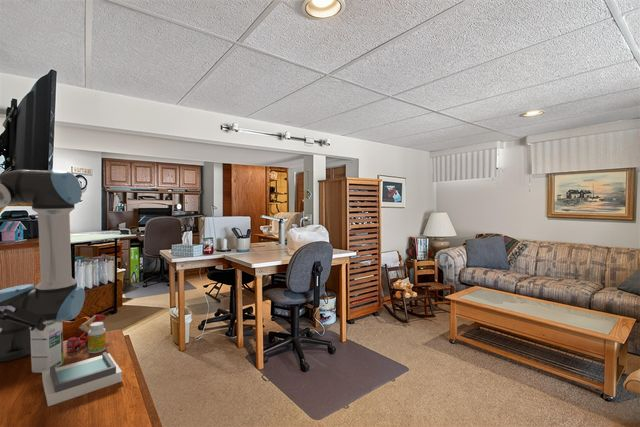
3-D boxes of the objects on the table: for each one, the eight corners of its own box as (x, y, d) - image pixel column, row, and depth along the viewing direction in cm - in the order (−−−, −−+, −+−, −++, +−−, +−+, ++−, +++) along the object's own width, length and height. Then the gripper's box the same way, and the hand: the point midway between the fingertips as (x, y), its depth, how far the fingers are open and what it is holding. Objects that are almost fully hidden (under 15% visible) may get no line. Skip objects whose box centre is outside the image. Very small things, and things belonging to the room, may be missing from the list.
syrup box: (49, 373, 99) (48, 327, 99) (30, 372, 99) (29, 327, 99) (64, 363, 105) (63, 320, 105) (46, 363, 105) (45, 320, 105)
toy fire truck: (64, 352, 113) (64, 325, 113) (98, 336, 127) (98, 312, 126) (72, 353, 112) (72, 326, 112) (105, 337, 126) (105, 313, 126)
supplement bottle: (92, 355, 111) (91, 327, 111) (85, 351, 114) (84, 324, 114) (108, 349, 116) (108, 323, 115) (101, 345, 119) (101, 319, 118)
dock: (42, 381, 95) (42, 365, 94) (109, 361, 107) (109, 347, 106) (47, 406, 83) (47, 387, 83) (122, 381, 95) (121, 364, 95)
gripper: (-102, 313, 74) (-32, 347, 89) (11, 312, 75) (60, 345, 91) (-75, 284, 79) (-14, 321, 94) (29, 284, 80) (73, 320, 96)
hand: (22, 333), depth 93 cm, fingers open, 13 cm apart
